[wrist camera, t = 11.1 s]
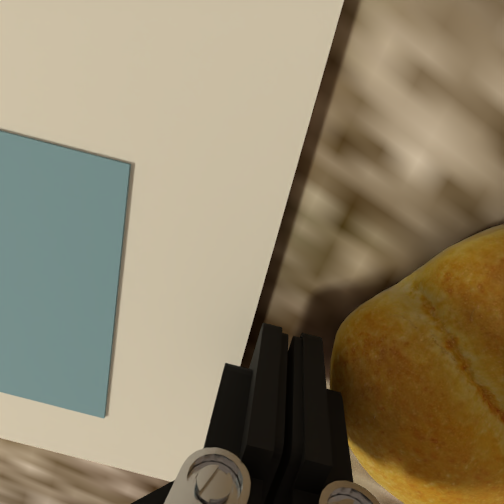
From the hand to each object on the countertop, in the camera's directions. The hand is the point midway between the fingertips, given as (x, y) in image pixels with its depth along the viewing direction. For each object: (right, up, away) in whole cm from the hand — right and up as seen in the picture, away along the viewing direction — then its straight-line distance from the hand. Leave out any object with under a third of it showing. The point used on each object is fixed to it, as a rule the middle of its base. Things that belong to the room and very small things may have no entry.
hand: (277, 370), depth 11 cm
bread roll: (+6, +1, +1) cm, 6 cm away
